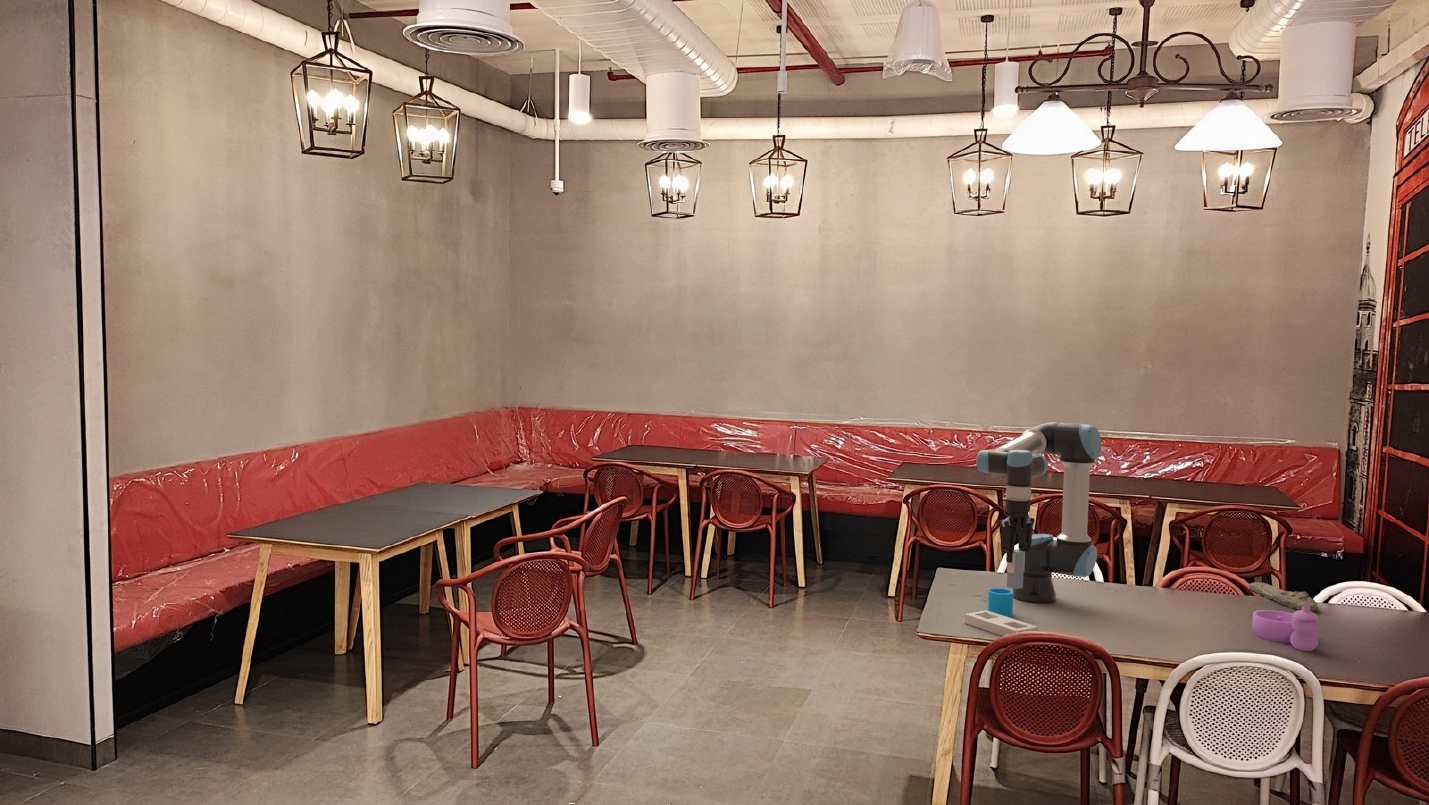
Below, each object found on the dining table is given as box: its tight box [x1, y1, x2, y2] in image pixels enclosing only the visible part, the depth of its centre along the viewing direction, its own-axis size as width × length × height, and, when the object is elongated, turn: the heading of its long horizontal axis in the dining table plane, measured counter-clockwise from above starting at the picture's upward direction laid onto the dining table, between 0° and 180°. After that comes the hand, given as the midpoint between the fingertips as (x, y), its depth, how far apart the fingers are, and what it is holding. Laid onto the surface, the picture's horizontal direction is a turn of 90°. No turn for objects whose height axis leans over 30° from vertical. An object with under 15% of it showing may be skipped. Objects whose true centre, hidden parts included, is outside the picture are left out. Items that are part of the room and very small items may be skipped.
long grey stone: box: [1248, 581, 1318, 612], centre depth 375 cm, size 35×5×10 cm
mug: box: [987, 587, 1014, 618], centre depth 350 cm, size 12×8×8 cm
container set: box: [1251, 606, 1319, 652], centre depth 324 cm, size 25×15×13 cm, turn 0°
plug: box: [1006, 548, 1024, 590], centre depth 325 cm, size 4×4×12 cm
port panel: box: [964, 609, 1039, 637], centre depth 331 cm, size 22×10×3 cm, turn 31°
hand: (1015, 571), depth 325 cm, fingers closed on plug, 3 cm apart
